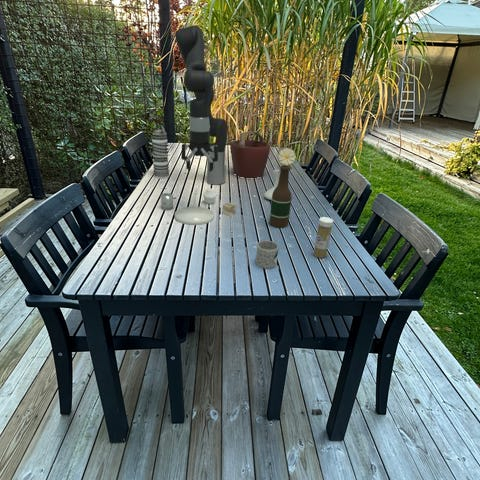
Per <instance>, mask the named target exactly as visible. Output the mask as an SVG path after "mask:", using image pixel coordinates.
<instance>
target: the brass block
mask: <svg viewBox="0 0 480 480" xmlns="http://www.w3.org/2000/svg"><path fill="white" fill-rule="evenodd" d="M236 208H237V204H234V203H231V202H227V203H224V204H222V211H221V212H222V213H221V214H222V215H226V216H229V217H231V216H233V215H236V211H237V210H236Z"/></svg>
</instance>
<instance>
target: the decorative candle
mask: <svg viewBox="0 0 480 480" xmlns="http://www.w3.org/2000/svg"><path fill="white" fill-rule="evenodd" d="M167 136H168V135H167V132H166V130H164V129H154V130H153V131H152V132H151V137H152V138H151V140H150V143H151V145H150V146H151V150H152V151H151V153H152V156H153V163H152V166H153V177H154V178H155V179H160V180H164V179H168V178H170V167H169V166H170V165H169V160H168V159H169V154H168V153H169V148H168V147H169V146H170V145H169V141H168V137H167Z"/></svg>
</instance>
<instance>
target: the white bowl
mask: <svg viewBox="0 0 480 480" xmlns="http://www.w3.org/2000/svg"><path fill="white" fill-rule="evenodd" d="M174 219H175V221H176V222H178V223H181V224H183V225H189V226H190V225H191V226H198V225H199V226H200V225H204V224H205V225H206V224H209V223H211V222H213V220H214V219H215V212H214V211H213V210H211V209H209V208H207V207H201V206H185V207H182V208H179V209H177V210H176V211H175V212H174Z"/></svg>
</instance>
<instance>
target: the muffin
mask: <svg viewBox="0 0 480 480" xmlns="http://www.w3.org/2000/svg"><path fill="white" fill-rule="evenodd" d="M202 196H203V199H204V201H205V203H206V204H208V205H213V204H214V203H215V201H216V199H217V197H218V196H217V193H216V192H215V190H214V189H213V188H207V189H206V191H205V192H204V193H203V194H202Z"/></svg>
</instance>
